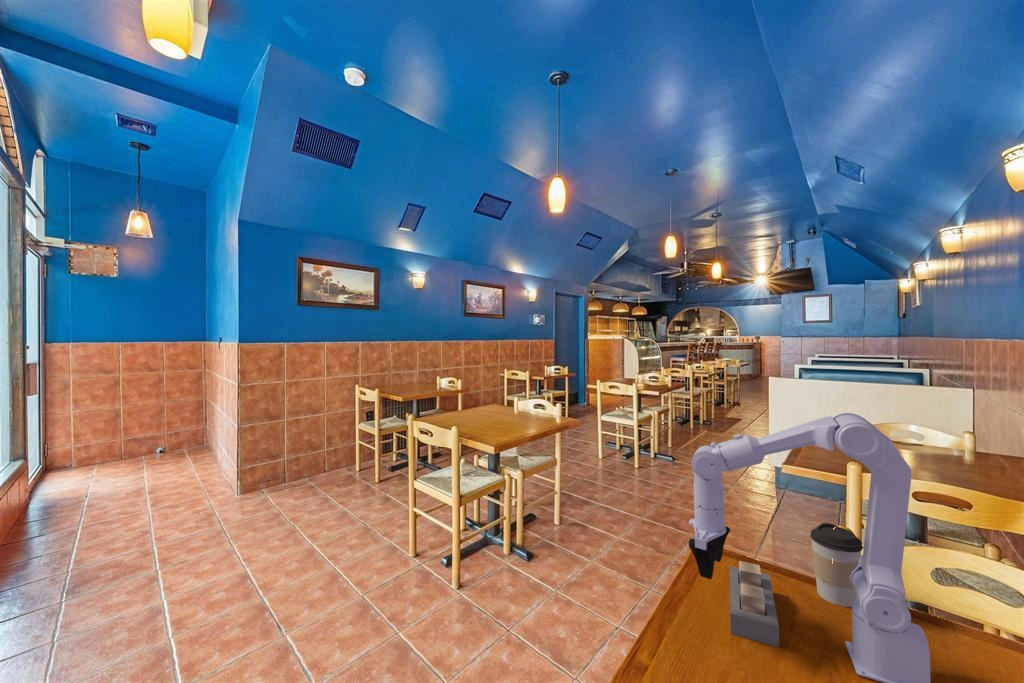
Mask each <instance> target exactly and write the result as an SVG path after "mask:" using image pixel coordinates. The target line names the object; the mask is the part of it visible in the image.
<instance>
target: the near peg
mask: <svg viewBox="0 0 1024 683" xmlns="http://www.w3.org/2000/svg"><path fill="white" fill-rule="evenodd" d="M741 609H742V610H745V611H749V612H752V613H756V614H760V615H764V616H765V598H764V591H763V588H760V587H756V586H752V585H748V584H743V583H741Z"/></svg>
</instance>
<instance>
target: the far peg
mask: <svg viewBox="0 0 1024 683" xmlns="http://www.w3.org/2000/svg"><path fill="white" fill-rule="evenodd" d="M738 566H739V567H738V568H739V577H740V584H741V583H743V584H748V585H752V586H756V587H760V588H761V573H762V572H761V567H760V564H756V563H752V562H747V561H743V560H739V561H738Z"/></svg>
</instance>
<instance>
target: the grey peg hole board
mask: <svg viewBox="0 0 1024 683" xmlns="http://www.w3.org/2000/svg"><path fill="white" fill-rule="evenodd" d="M761 588H763V591H764V598H765V616H764V615H760V614H756V613H752V612H749V611H745V610H742V609H741V584H740V577H739V567H736V566H732V565H729V605H730V606H729V607H730V608H729V609H730V610H729V611H730V613H729V614H730V634H732V635H733V636H738V637H742V638H744V639H749V640H752V641H756V642H759V643H762V644H765V645H770V646H773V647H776V648H780V626H779V621H778V620H779V619H778V614H777V610H776V604H775V599H774V594H773V587H772V583H771V577H770V574H767V573H764V572H761Z"/></svg>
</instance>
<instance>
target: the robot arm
mask: <svg viewBox="0 0 1024 683" xmlns="http://www.w3.org/2000/svg"><path fill="white" fill-rule="evenodd" d="M834 445H835V446H837V448H838V449H839V450H840V452H842V453H843V454H844V455H846V456H848V457H850V458H851V459H853V460H856V461H858V462H860V463H862V464H863V465H864V467H866V468H867V469H868V470H869V471H870V472H871V473H870V482H869V489H868V490H869V491H868V500H867V510H866V511H867V512H866V520H865V521H866V522H865V530H864V540H863V542H864V543H863V549H862V554H861V556H860V558H859V563H858V566H857V568H856V569H855V570H854V571H853V572H852V573H851V576H850V580H851V584H852V586H853V588H854V589H855V592H856V595H857V598H856V600H855V601H854V602H853V604H852V607H851V627H852V628H851V629H852V631H851V632H852V633H851V634H852V636H851V638H852V642H850V641H844V642H845V643H844V644H845V648H846V649H847V652H848V655H849V657H850V660H851V663H852V665H853V668H854V670H855V673H856V674H857V675H858V676H860V677H863V678H867V679H871V680H874V681H877V682H880V683H931V654H930V653H931V652H930V648H929V647H930V646H929V643H928V639H927V637H926V634H925V631H924V630H923V629H922V627H921V626H920V625H919V624H916V623H913V622H912V615H911V612H910V610H909V608H908V606H907V603H906V590H905V585H904V579H903V574H902V569H903V561H904V552H905V551H904V550H905V549H904V548H905V542H906V541H905V539H906V530H907V522H908V511H909V503H910V496H911V495H910V493H911V492H910V491H911V485H912V484H911V483H912V476H913V473H912V468H911V467H910V465H909V464H908V463H907V461H906V460H905V459H904V457H903V456H902V454H901V453H900V452H899V450H898V449H897V447H896V446H895V445H894V442H893V441H892V440H891V438H889V437H888V435H886V434H884V433H883V432H882V431H881V430H880V429H879V428H878V427H876V426H875V425H874V424H872V423H871V422H870V421H868V420H867V419H865V418H864V417H862V416H860V415H859V414H856V413H851V412H844V413H839V414H836V415H834V416H833V417H832V416H825V417H820V418H818V419H814V420H810V421H808V422H804V423H802V424H798V425H796V426H792V427H789V428H787V429H783V430H780V431H778V432H775V433H772V434H769V435H768V434H767V435H766V436H762V437H759V438H757V437H754V436H751V435H748V434H746V435H743V436H742V434H741V433H739V434H734V435H733V439H729V440H727V441H721V442H719V443H717V442H716V441H715V442H711V443H710V445H703V446H700V447H699V448H697V450H695V453H693V455H692V456H693V457H692V458H691V463H690V464H691V468H692V470H693V478H694V480H693V509H694V510H693V511H694V513H693V514H694V518H690V519H689V521H688V525H689V526H692V527H693V529H694V533H695V537H694V538H692V537H690V539H689V540H688V542H687V543H688V547H689V549H690V551H691V552H692V554H693V556H694V559H695V561H696V566H697V569H698V572H699V576H700V577H702V578H704V579H707V580H712V578H713V576H714V570H715V562H719V563H721V562H722V558H723V552H724V549H725V548H724V547H725V543H726V540H727V538H728V535H729V534H730V532H731V528H730V527H729V526H726V521H725V520H726V519H725V518H726V517H725V488H724V483H723V472H728V473H729V472H732V471H736V470H739V469H740V470H741V469H745V468H748V467H753V466H756V465H759V464H763V461H764V459H765V457H766V456H768V455H772V454H778V453H781V452H787V451H790V450H795V449H799V448H804V447H809V446H814V447H818V448H821V449H825V450H828V451H832V452H834V451H835V449H834Z"/></svg>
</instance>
